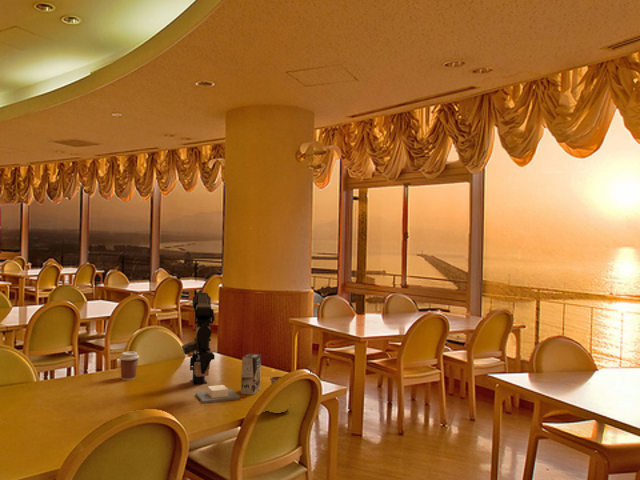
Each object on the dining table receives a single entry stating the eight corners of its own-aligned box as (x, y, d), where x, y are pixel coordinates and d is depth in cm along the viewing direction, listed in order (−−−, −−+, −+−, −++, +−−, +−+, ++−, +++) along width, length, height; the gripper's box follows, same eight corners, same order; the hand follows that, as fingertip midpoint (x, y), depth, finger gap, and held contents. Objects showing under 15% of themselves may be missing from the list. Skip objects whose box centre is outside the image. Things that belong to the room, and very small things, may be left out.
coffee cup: (142, 377, 247) (143, 352, 247) (126, 381, 240) (127, 356, 240) (130, 374, 252) (131, 350, 252) (114, 378, 245) (115, 353, 245)
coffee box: (254, 395, 227) (255, 358, 227) (240, 393, 228) (241, 357, 228) (260, 389, 236) (261, 354, 236) (247, 388, 237) (248, 352, 237)
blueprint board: (195, 395, 224) (196, 385, 224) (231, 391, 231) (231, 382, 231) (202, 403, 213) (203, 393, 213) (239, 399, 220) (240, 389, 220)
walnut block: (194, 373, 221) (194, 362, 221) (205, 372, 223) (206, 361, 223) (196, 376, 217) (197, 364, 217) (208, 375, 219) (208, 364, 219)
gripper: (179, 332, 225) (178, 368, 225) (188, 340, 208) (186, 379, 208) (205, 331, 230) (203, 366, 230) (215, 339, 213) (214, 377, 213)
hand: (201, 372), depth 220 cm, fingers closed on walnut block, 5 cm apart
